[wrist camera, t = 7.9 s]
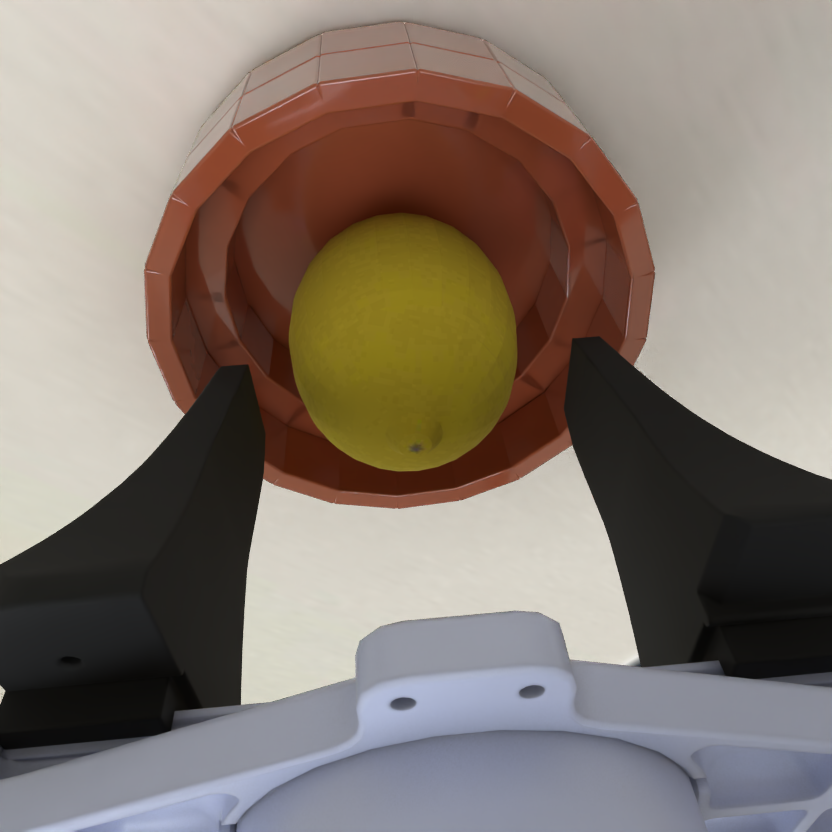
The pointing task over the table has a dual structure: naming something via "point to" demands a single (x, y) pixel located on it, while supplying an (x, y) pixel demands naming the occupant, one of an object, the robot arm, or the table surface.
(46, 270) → the table surface
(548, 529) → the table surface
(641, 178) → the table surface
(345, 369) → the lemon
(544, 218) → the bowl
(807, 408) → the table surface
